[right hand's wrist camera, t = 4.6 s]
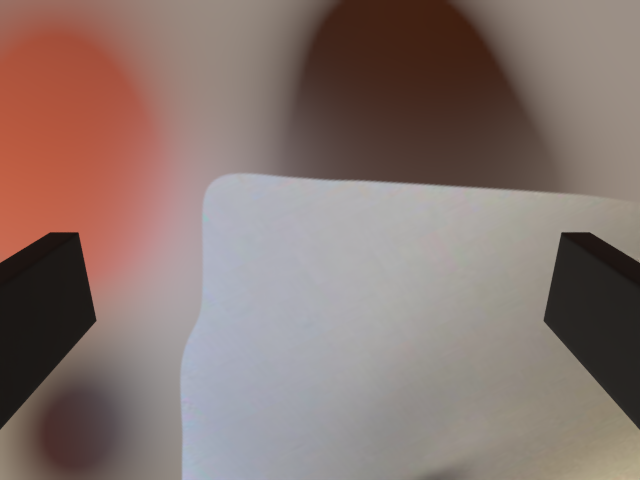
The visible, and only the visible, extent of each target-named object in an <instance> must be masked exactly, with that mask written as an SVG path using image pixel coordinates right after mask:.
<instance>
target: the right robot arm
mask: <svg viewBox="0 0 640 480" xmlns="http://www.w3.org/2000/svg"><path fill="white" fill-rule="evenodd" d="M95 322H96V316H95V311H94V306H93V301H92V296H91V292H90V287H89V282H88V277H87V272H86V267H85V262H84V258H83V253H82V248H81V243H80V238H79V233H78V232H50V233H49V234H47V235H45V236H44V237H42V238H40V239H39V240H37V241H35V242H34V243H32V244H30V245H29V246H27V247H26V248H24V249H22V250H21V251H19V252H17V253H16V254H14V255H13V256H11V257H9V258H8V259H6V260H4V261H3V262H1V263H0V429H1V428H2V427H3V426H4V425H5V424H6V423H7V421H8V420H9V419H10V418H11V417H12V416H13V415H14V413H15V412H16V411H17V410H18V409H19V408H20V407H21V406H22V404H23V403H24V402H25V401H26V400H27V399H28V398H29V396H30V395H31V394H32V393H33V392H34V391H35V390H36V388H37V387H38V386H39V385H40V384H41V383H42V382H43V381H44V379H45V378H46V377H47V376H48V375H49V374H50V373H51V372H52V370H53V369H54V368H55V367H56V366H57V365H58V364H59V363H60V361H61V360H62V359H63V358H64V357H65V356H66V355H67V353H68V352H69V351H70V350H71V349H72V348H73V347H74V346H75V344H76V343H77V342H78V341H79V340H80V339H81V338H82V337H83V335H84V334H85V333H86V332H87V331H88V330H89V329H90V327H91V326H92V325H93V324H94V323H95ZM544 322H545V323H546V324H547V325H548V326H549V327H550V329H551V330H552V331H553V332H554V333H555V334H556V335H557V337H558V338H559V339H560V340H561V341H562V342H563V343H564V344H565V346H566V347H567V348H568V349H569V350H570V351H571V352H572V353H573V355H574V356H575V357H576V358H577V359H578V360H579V361H580V363H581V364H582V365H583V366H584V367H585V368H586V369H587V370H588V372H589V373H590V374H591V375H592V376H593V377H594V378H595V380H596V381H597V382H598V383H599V384H600V385H601V386H602V387H603V389H604V390H605V391H606V392H607V393H608V394H609V395H610V396H611V398H612V399H613V400H614V401H615V402H616V403H617V404H618V406H619V407H620V408H621V409H622V410H623V411H624V412H625V413H626V415H627V416H628V417H629V418H630V419H631V420H632V421H633V423H634V424H635V425H636V426H637V427H638V428H639V429H640V263H639V262H637V261H636V260H634V259H632V258H631V257H629V256H628V255H626V254H624V253H623V252H621V251H619V250H618V249H616V248H614V247H613V246H611V245H610V244H608V243H606V242H605V241H603V240H601V239H600V238H598V237H596V236H595V235H593V234H591V233H590V232H562V233H561V238H560V243H559V248H558V252H557V257H556V262H555V267H554V272H553V277H552V282H551V287H550V292H549V296H548V301H547V306H546V311H545V316H544Z"/></svg>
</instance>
